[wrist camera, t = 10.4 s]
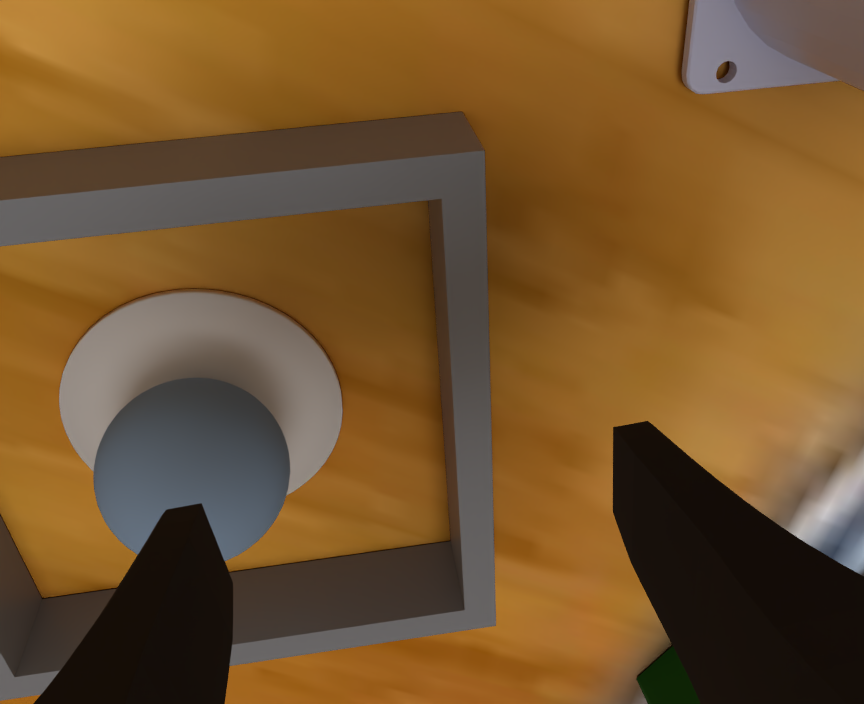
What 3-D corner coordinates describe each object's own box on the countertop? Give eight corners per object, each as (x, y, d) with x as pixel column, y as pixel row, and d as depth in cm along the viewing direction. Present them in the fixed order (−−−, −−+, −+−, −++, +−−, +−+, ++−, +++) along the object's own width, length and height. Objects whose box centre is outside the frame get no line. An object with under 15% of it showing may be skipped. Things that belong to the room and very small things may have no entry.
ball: (267, 327, 22) (259, 443, 18) (307, 460, 25) (309, 587, 20) (87, 361, 22) (36, 486, 17) (148, 491, 24) (117, 625, 20)
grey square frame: (462, 111, 20) (484, 150, 17) (479, 556, 28) (495, 625, 26) (-215, 178, 18) (-298, 231, 16) (21, 622, 27) (-8, 701, 25)
